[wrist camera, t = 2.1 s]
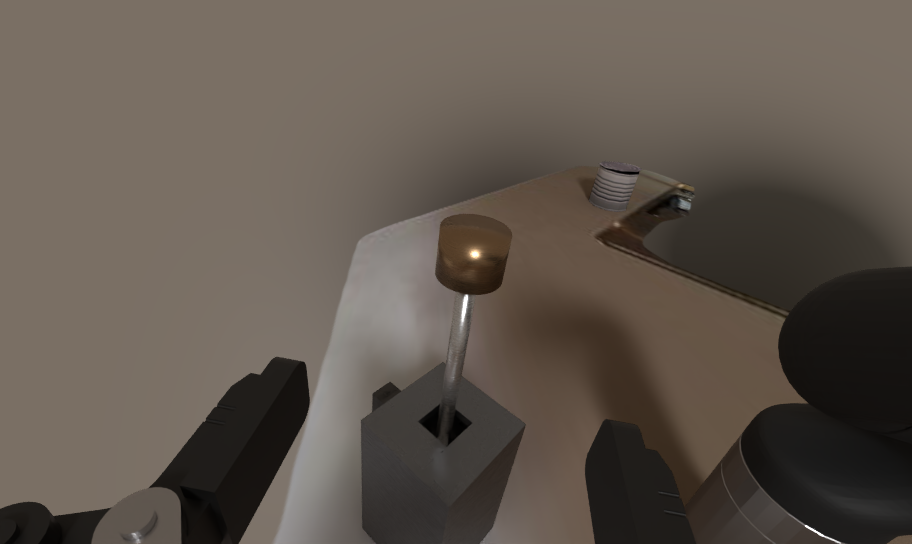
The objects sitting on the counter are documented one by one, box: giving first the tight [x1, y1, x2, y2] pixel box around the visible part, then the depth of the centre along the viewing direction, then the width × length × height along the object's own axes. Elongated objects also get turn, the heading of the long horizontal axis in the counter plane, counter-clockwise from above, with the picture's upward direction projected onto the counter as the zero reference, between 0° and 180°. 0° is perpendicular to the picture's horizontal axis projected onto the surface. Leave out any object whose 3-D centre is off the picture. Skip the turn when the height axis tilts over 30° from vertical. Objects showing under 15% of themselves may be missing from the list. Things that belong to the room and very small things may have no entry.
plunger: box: [422, 214, 512, 447], centre depth 28 cm, size 7×7×20 cm
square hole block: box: [361, 362, 526, 544], centre depth 36 cm, size 12×9×16 cm
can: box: [589, 162, 642, 212], centre depth 119 cm, size 11×11×12 cm
